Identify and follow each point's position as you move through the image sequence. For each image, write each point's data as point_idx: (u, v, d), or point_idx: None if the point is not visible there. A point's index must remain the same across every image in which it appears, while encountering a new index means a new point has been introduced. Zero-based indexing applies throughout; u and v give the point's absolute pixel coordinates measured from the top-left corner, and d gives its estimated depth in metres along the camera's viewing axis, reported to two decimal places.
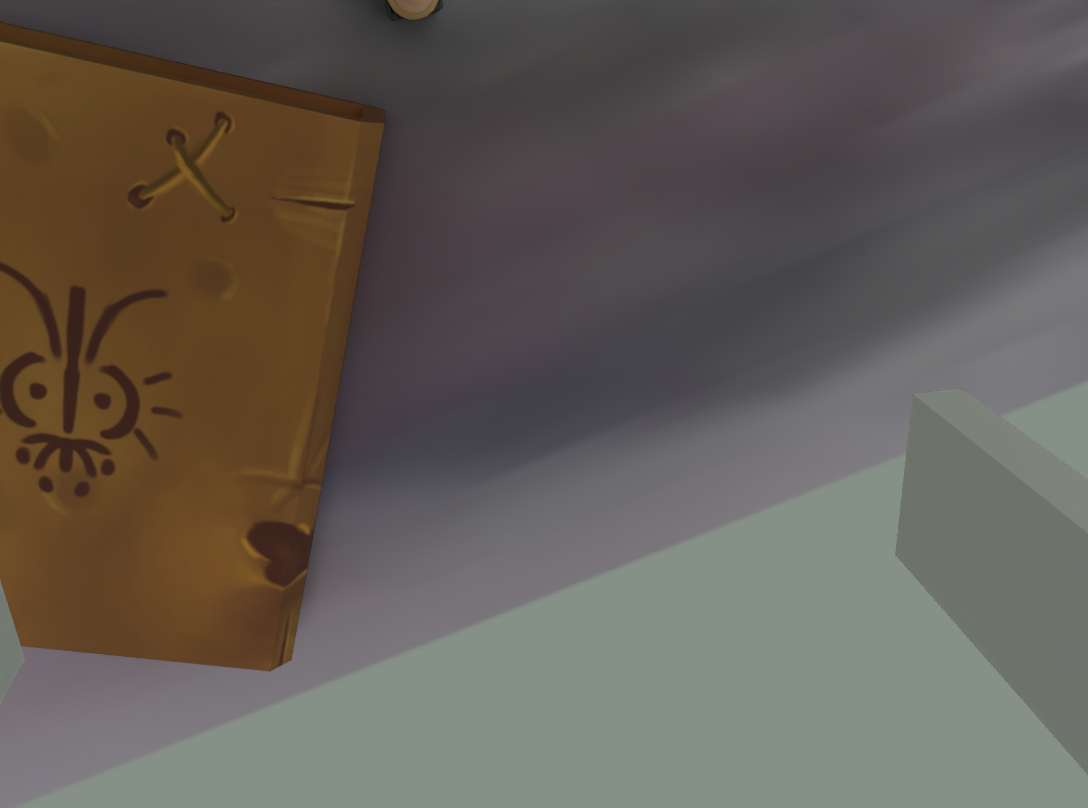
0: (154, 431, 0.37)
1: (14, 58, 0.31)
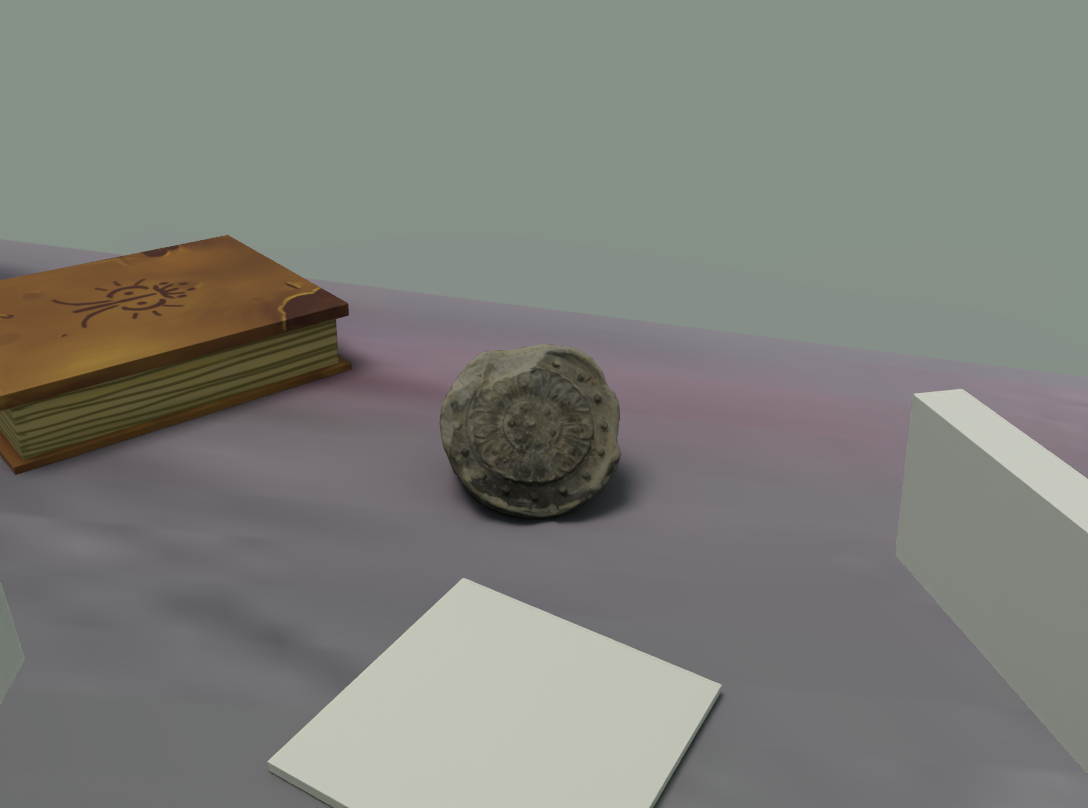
0: (130, 282, 0.71)
1: None
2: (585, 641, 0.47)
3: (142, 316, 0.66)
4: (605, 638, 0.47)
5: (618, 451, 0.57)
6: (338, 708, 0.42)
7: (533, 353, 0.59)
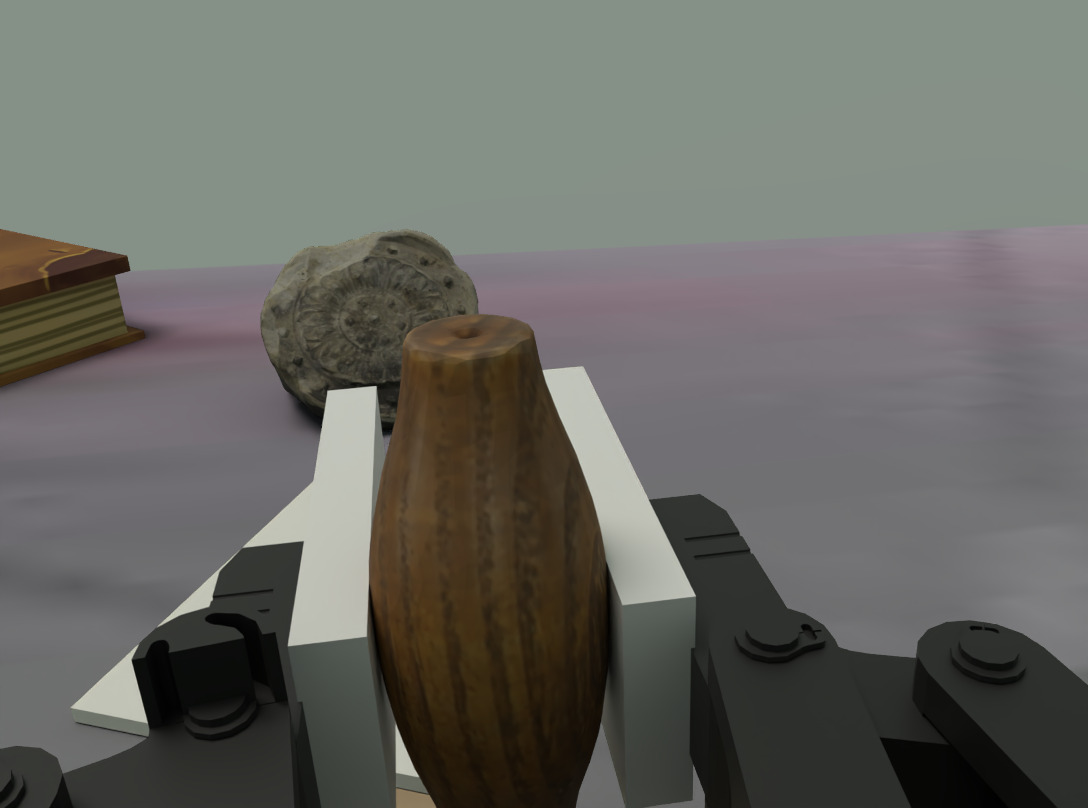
0: None
1: None
2: None
3: None
4: None
5: None
6: None
7: (363, 243, 0.49)
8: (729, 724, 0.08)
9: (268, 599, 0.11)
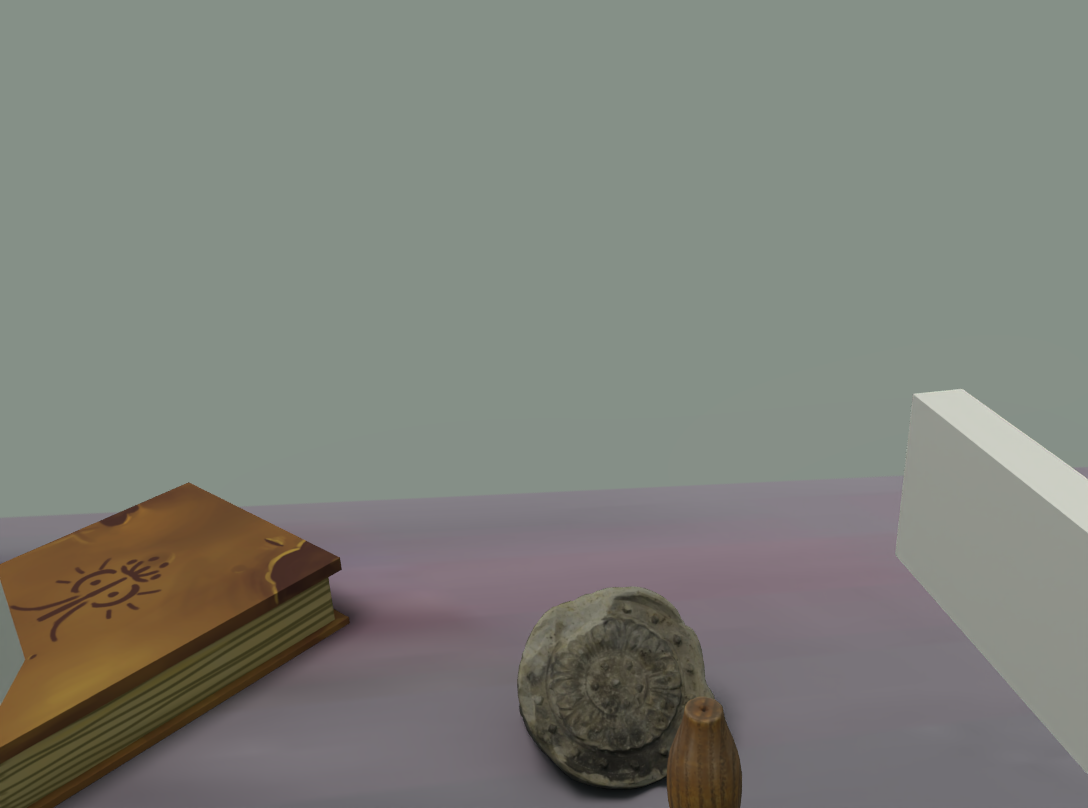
0: (94, 566, 0.65)
1: None
2: None
3: (117, 613, 0.60)
4: None
5: (711, 695, 0.53)
6: None
7: (600, 600, 0.55)
8: None
9: None
